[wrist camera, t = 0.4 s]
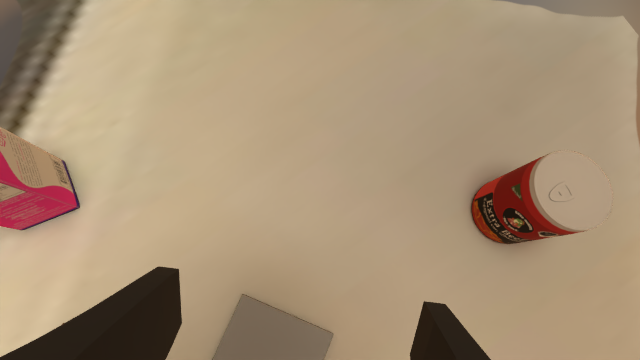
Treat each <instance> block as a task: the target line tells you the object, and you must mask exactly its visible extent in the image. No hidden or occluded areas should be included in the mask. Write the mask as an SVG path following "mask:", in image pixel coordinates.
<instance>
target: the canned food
mask: <svg viewBox="0 0 640 360" xmlns="http://www.w3.org/2000/svg"><path fill="white" fill-rule="evenodd" d="M612 206H613V192H612V188H611V184H610V182H609V180H608V178H607V176H606V174H605V173H604V171H603V170H602V169H601V168H600V167H599V166H598V165H597V164H596V163H595V162H594V161H593V160H591V159H590V158H589V157H587V156H585V155H583V154H581V153H578V152H575V151H568V150H563V151H557V152H553V153H550V154H547V155H545V156H543V157H540V158H538V159H536V160H534V161H532V162H530V163H528V164H526V165H524V166H522V167H520V168H518V169H516V170H514V171H511V172H509V173H507V174H505V175H503V176H501V177H499V178H497V179H495V180H493V181H491V182H489V183H487V184H485V185H484V186H483V187H482V188H481V189H480V190H479V191H478V193H477V194H476V195H475V198H474V200H473V204H472V214H473V218H474V221H475V223H476V225H477V227H478V228H479V229H480V231H481V232H482V233H483V234H484V235H486V236H487V237H488V238H490V239H492V240H495V241H498V242H501V243H507V244H513V243H520V242H526V241H532V240H538V239H544V238H550V237H556V236H562V235H568V234H574V233H578V232H584V231H587V230H590V229H593V228H596V227H598V226H600V225H601V224H603V223H604V222H605V220H606V219H607V218H608V216H609V215H610V213H611V210H612Z"/></svg>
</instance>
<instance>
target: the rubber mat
mask: <svg viewBox="0 0 640 360" xmlns="http://www.w3.org/2000/svg"><path fill="white" fill-rule="evenodd" d="M332 336H333V333H331V332H329V331H326V330H324V329H322V328H319V327H317V326H315V325H312V324H310V323H308V322H306V321H303V320H301V319H299V318H296V317H294V316H292V315H290V314H287V313H285V312H283V311H280V310H278V309H276V308H274V307H271V306H269V305H267V304H264V303H262V302H260V301H258V300H255V299H253V298H251V297H248V296H246V295H244V294H242V297H241V299H240V301H239V303H238V305H237V307H236V310H235V312H234V314H233V316H232V318H231V320H230V323H229V325H228V327H227V329H226V331H225V333H224V336H223V338H222V340H221V342H220V344H219V346H218V349H217V351H216V353H215V355H214V357H213V359H212V360H324V358H325V356H326V353H327V350H328V347H329V345H330V342H331V339H332Z"/></svg>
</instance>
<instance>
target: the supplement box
mask: <svg viewBox="0 0 640 360" xmlns="http://www.w3.org/2000/svg"><path fill="white" fill-rule="evenodd" d="M79 207H80V206H79V202H78V199H77V196H76V193H75V190H74V187H73V184H72V182H71V179H70V176H69V173H68V170H67V168H66V165H65V162H64V161H63V160H60V159H59V158H57V157H55V156H53V155H51V154H49V153H48V152H46V151H44V150H42V149H40V148H38V147H36V146H35V145H33V144H31V143H29V142H27V141H25V140H23V139H22V138H20V137H18V136H16V135H14V134H12V133H11V132H9V131H7V130H5V129H3V128H1V127H0V226H3V227H8V228H13V229H19V230H24V229H27V228H29V227H32V226H34V225H37V224H39V223H42V222H44V221H47V220H50V219H52V218H55V217H57V216H60V215H62V214H65V213H67V212H70V211H72V210H75V209H77V208H79Z"/></svg>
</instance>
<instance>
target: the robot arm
mask: <svg viewBox="0 0 640 360" xmlns="http://www.w3.org/2000/svg"><path fill="white" fill-rule="evenodd" d="M181 324H182V318H181V300H180V282H179V269H174V268H166V267H157V268H155V269H153V270H152V271H150V272H148V273H147V274H145V275H144V276H142V277H140V278H139V279H137V280H136V281H134V282H132V283H131V284H129V285H128V286H126V287H125V288H123V289H121V290H120V291H118V292H117V293H115V294H113V295H112V296H110V297H108V298H107V299H105V300H104V301H102V302H100V303H99V304H97V305H96V306H94V307H92V308H91V309H89V310H87V311H86V312H84V313H82V314H80V315H79V316H77V317H75V318H73V319H72V320H70V321H68V322H66V323H64V324H63V325H61V326H59V327H57V328H56V329H54V330H52V331H50V332H49V333H47V334H45V335H43V336H41V337H39V338H38V339H36V340H34V341H32V342H30V343H28V344H26V345H24V346H22V347H20V348H18V349H16V350H14V351H12V352H10V353H8V354H6V355H4V356H2V357H0V360H165V359H166V357H167V355H168V353H169V351H170V349H171V347H172V345H173V342H174V340H175V338H176V335H177V333H178V331H179V329H180V326H181ZM410 360H491V359H490V358H489V357H488V356H487V355H486V353H485V352H484V351H483V350H482V349H481V347H480V346H479V345H478V344H477V343H476V341H475V340H474V339H473V338H472V336H471V335H470V334H469V333H468V331H467V330H466V329H465V328H464V327H463V325H462V324H461V323H460V322H459V320H458V319H457V318H456V317H455V315H454V314H453V313H452V312H451V310H450V309H449V308H448V307H447V306H446V304H440V303H433V302H425V301H424V303H423V307H422V311H421V315H420V318H419V322H418V326H417V330H416V333H415V337H414V341H413V345H412V349H411V352H410Z"/></svg>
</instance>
